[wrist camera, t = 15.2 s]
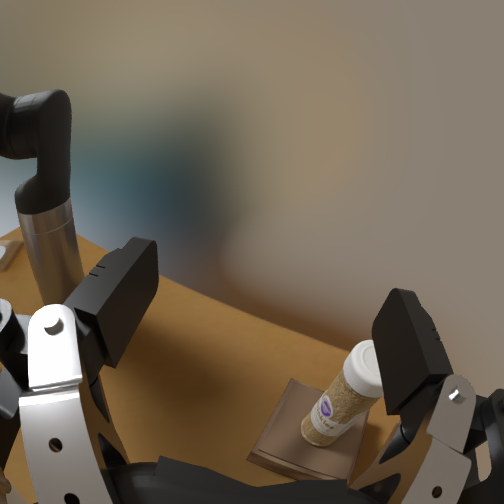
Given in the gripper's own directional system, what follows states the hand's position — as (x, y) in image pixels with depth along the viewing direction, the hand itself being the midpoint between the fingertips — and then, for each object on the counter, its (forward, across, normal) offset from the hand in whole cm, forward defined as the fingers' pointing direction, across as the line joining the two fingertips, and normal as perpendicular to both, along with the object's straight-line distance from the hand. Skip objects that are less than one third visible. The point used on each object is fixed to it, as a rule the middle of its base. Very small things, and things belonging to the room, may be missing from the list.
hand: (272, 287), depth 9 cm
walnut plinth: (+5, -10, +26) cm, 29 cm away
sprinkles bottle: (+5, -10, +23) cm, 25 cm away
